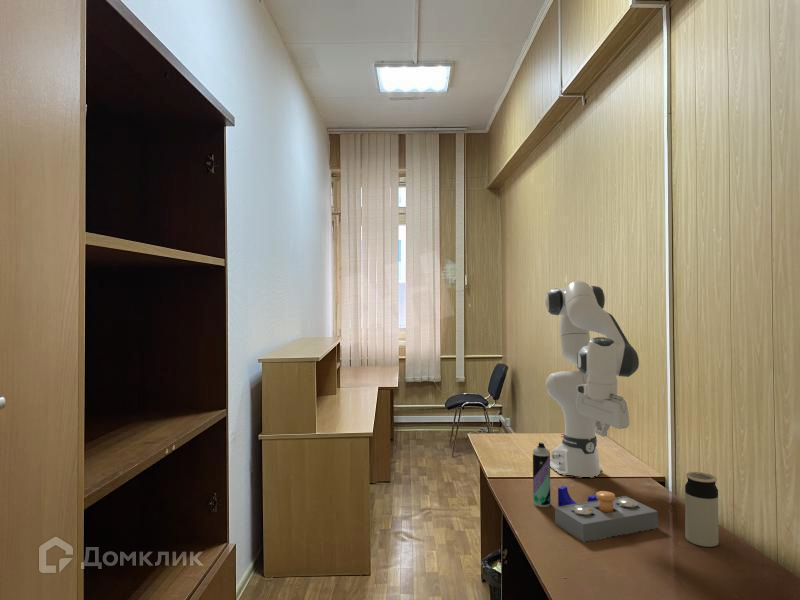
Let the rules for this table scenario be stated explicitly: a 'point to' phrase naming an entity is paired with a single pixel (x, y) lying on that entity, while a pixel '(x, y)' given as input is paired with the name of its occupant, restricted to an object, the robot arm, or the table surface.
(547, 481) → the spray can
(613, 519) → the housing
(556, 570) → the table surface
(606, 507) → the orange knob
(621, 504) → the far knob
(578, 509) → the near knob
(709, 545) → the travel mug
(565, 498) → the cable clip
